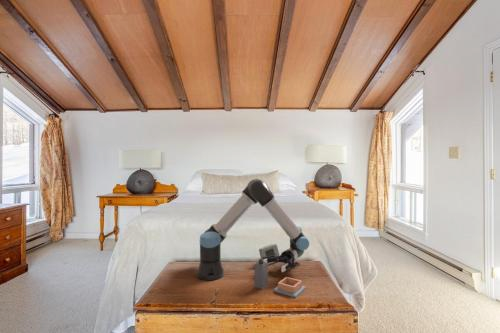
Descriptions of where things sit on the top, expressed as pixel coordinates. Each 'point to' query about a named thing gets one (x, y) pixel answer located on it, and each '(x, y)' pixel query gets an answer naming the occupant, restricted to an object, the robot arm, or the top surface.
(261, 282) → the bottle
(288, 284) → the end holder
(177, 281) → the top surface
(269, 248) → the digital clock
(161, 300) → the top surface
